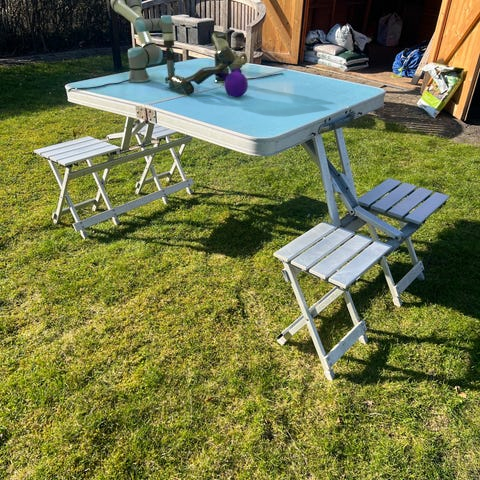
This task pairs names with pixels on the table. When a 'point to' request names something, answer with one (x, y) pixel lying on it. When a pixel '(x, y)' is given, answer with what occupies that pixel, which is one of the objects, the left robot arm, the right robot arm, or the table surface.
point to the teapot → (238, 61)
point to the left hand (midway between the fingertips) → (171, 74)
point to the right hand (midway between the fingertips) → (170, 78)
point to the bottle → (170, 71)
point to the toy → (234, 82)
